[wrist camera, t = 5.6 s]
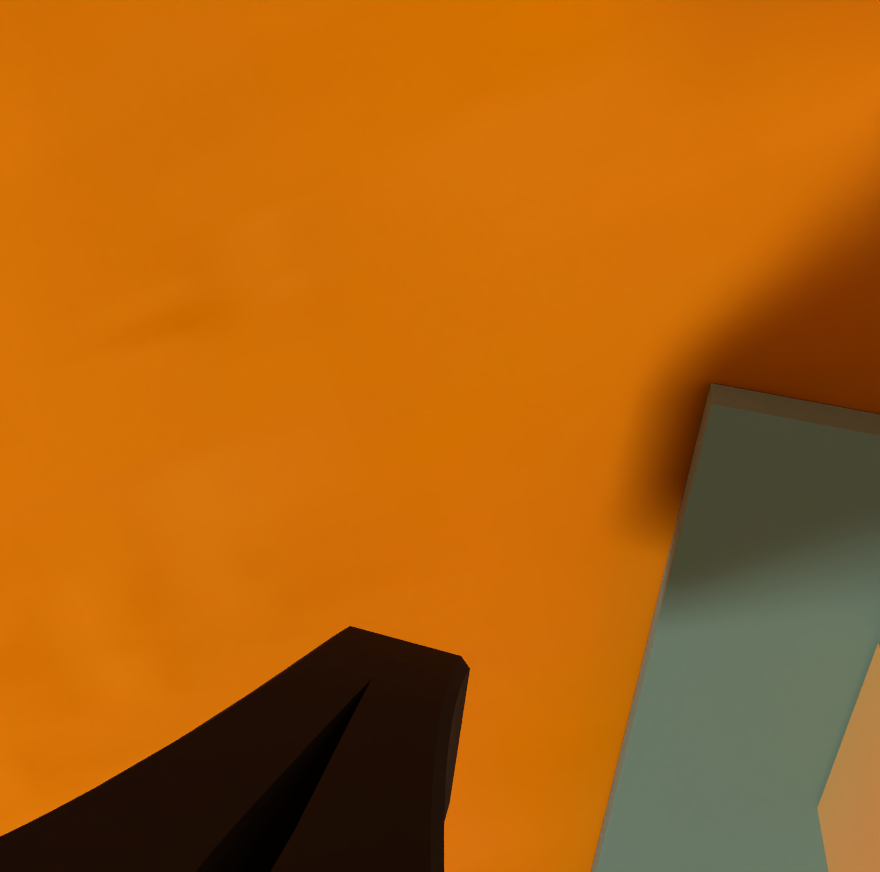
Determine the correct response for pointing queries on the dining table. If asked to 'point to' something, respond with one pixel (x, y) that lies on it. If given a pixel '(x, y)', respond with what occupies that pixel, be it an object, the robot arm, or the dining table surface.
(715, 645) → the socket base
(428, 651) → the robot arm
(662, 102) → the dining table surface
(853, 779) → the lug slider
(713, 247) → the dining table surface
